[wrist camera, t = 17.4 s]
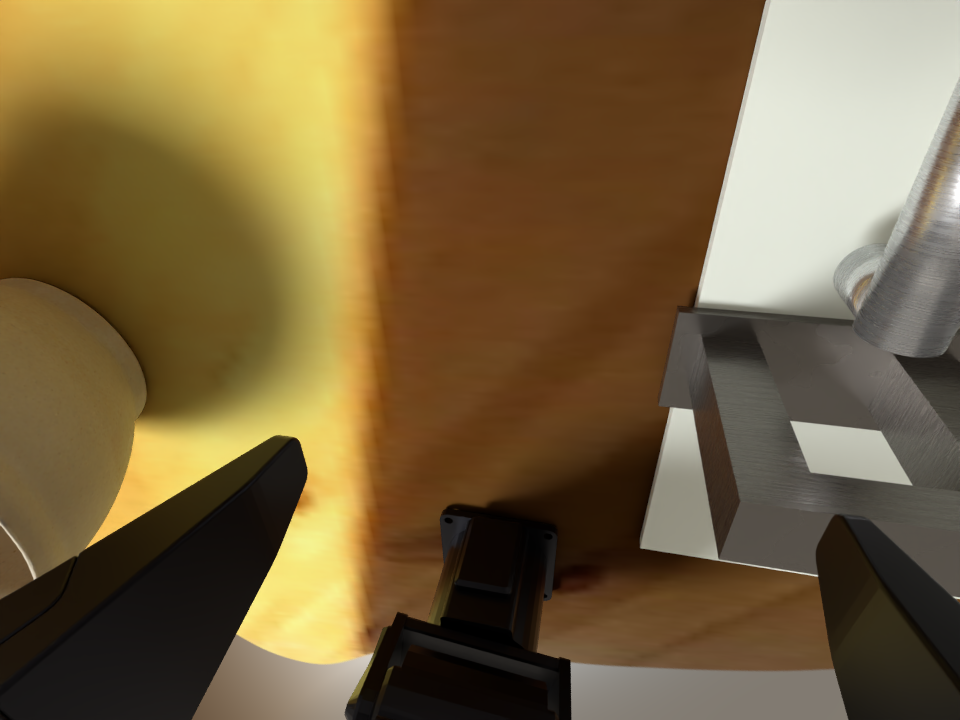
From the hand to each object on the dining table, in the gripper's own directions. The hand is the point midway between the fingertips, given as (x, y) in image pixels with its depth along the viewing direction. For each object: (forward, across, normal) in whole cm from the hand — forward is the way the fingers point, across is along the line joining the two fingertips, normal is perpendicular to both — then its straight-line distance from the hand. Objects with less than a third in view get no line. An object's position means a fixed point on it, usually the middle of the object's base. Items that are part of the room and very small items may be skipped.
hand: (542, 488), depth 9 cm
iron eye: (+13, -9, +5) cm, 17 cm away
